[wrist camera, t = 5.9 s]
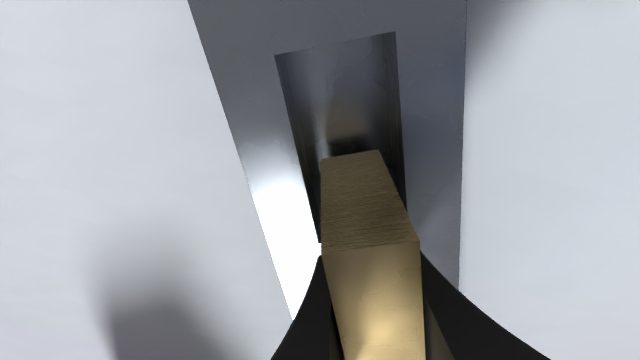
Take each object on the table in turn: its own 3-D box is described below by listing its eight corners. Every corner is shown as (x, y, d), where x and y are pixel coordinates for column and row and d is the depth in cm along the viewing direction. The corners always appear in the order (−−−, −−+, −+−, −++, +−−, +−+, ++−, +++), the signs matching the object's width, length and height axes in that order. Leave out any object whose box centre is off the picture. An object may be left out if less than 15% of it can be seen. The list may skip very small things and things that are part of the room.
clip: (378, 149, 13) (419, 240, 8) (391, 276, 16) (427, 404, 11) (320, 159, 13) (320, 254, 8) (344, 283, 16) (357, 412, 11)
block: (431, -121, 10) (472, -169, 8) (438, 345, 21) (455, 392, 19) (196, -66, 11) (157, -91, 8) (321, 358, 22) (321, 406, 19)
